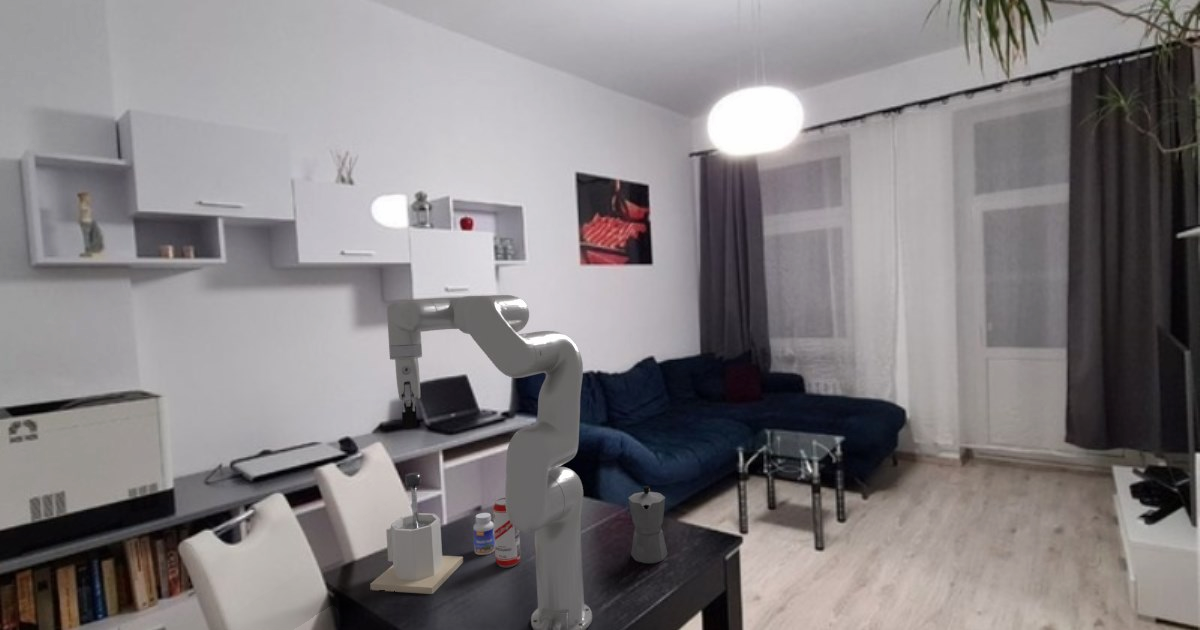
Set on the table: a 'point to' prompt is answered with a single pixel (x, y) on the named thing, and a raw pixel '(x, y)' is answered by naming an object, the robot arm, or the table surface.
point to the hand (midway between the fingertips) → (410, 424)
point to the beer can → (505, 537)
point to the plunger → (414, 500)
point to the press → (416, 557)
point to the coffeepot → (648, 526)
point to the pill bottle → (484, 534)
